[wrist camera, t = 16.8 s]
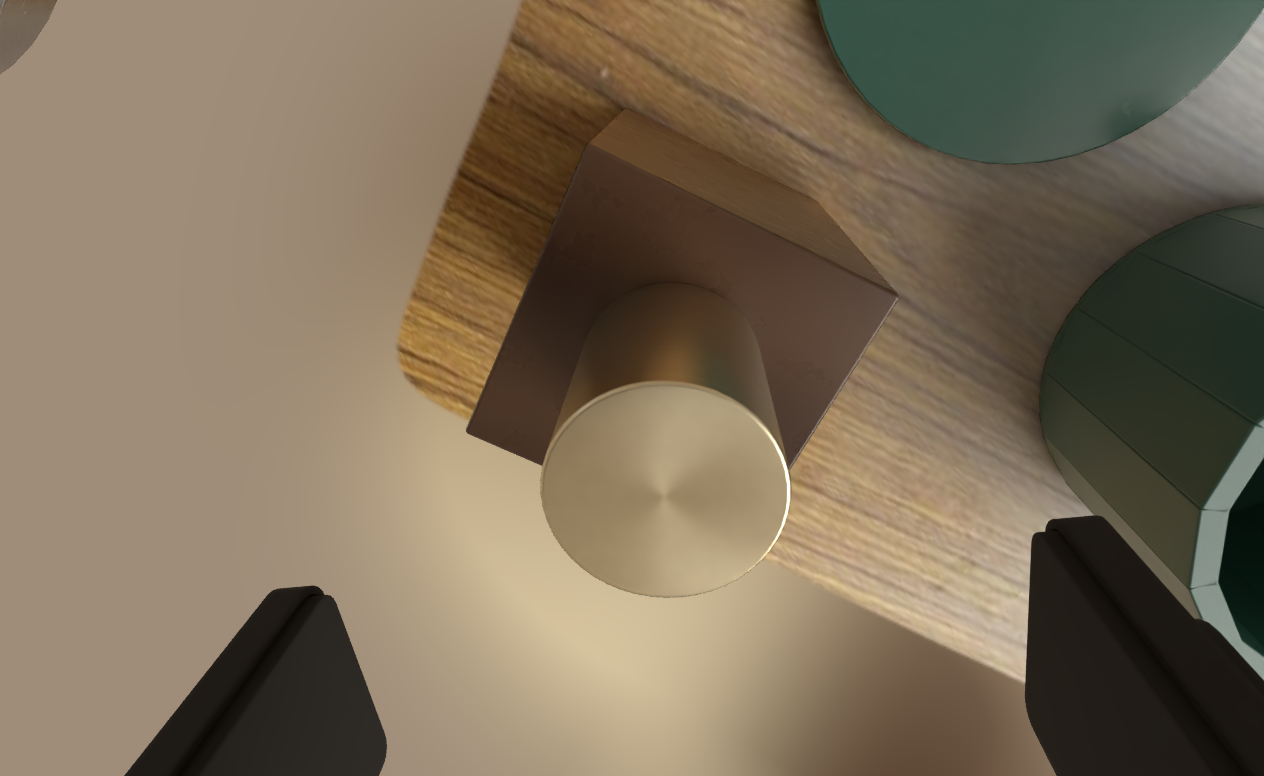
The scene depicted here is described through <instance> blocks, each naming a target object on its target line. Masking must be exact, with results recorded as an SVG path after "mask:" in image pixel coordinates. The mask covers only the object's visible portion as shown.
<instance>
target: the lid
mask: <svg viewBox="0 0 1264 776" xmlns="http://www.w3.org/2000/svg"><path fill="white" fill-rule="evenodd" d="M815 2H816V6H817V10H818V14H819V18H820V22H821V26H822V29H823V31H824V34H825V36H826V39H827V41H828V44H829V46H830V49H831V51H832V54H833V56H834V57H835V59H836V61H837V63H838V64H839V66H840V68H841V70H842V71H843V73H844V75H845V77H846V79H847V80H848V81H849V83H850V84H851V85H852V86H853V88H854V89H855V90H856V92H857V93H858V94H859V96H860V97H861V98H862V99H863V101H864V102H865V103H866V104H867V105H868V106H869V107H870V108H871V109H872V110H873V111H875V112H876V113H877V114H878V115H879V116H880V117H881V118H882V119H883V120H884V121H885V122H887V123H888V124H890V125H891V126H892V127H894V128H895V129H897V130H898V131H899V132H901V133H902V134H904V135H905V136H907V137H909V138H911V139H913V140H915V141H917V142H919V143H920V144H922V145H924V146H926V147H928V148H931V149H933V150H936V151H939V152H942V153H945V154H948V155H951V156H954V157H957V158H960V159H966V160H971V161H977V162H982V163H990V164H1012V165H1016V164H1028V163H1040V162H1047V161H1052V160H1057V159H1061V158H1066V157H1071V156H1075V155H1078V154H1081V153H1084V152H1087V151H1090V150H1093V149H1096V148H1098V147H1101V146H1104V145H1106V144H1108V143H1110V142H1113V141H1115V140H1117V139H1119V138H1121V137H1123V136H1125V135H1128V134H1130V133H1132V132H1134V131H1135V130H1137V129H1139V128H1140V127H1142V126H1144V125H1145V124H1147V123H1149V122H1150V121H1152V120H1153V119H1155V118H1157V117H1158V116H1160V115H1162V114H1163V113H1164V112H1166V111H1167V110H1168V109H1170V108H1171V107H1172V106H1174V105H1175V104H1176V103H1177V102H1179V101H1180V100H1181V99H1183V98H1184V97H1185V96H1187V95H1188V94H1189V93H1190V92H1192V91H1193V90H1194V89H1195V88H1196V87H1197V86H1198V85H1199V84H1200V83H1201V82H1202V81H1203V80H1204V79H1206V78H1207V77H1208V76H1209V75H1210V74H1211V73H1212V72H1213V71H1214V70H1215V69H1216V68H1217V67H1218V66H1219V65H1220V64H1221V62H1222V61H1223V60H1224V59H1225V58H1226V57H1227V56H1228V55H1229V53H1230V52H1231V51H1232V50H1233V49H1234V48H1235V47H1236V45H1237V44H1238V43H1239V42H1240V41H1241V39H1242V38H1243V37H1244V35H1245V34H1246V32H1247V31H1248V30H1249V28H1250V27H1251V26H1252V24H1253V23H1254V21H1255V20H1256V19H1257V17H1258V16H1259V14H1260V13H1261V12H1262V10H1263V8H1264V0H815Z"/></svg>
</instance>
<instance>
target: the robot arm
mask: <svg viewBox="0 0 1264 776" xmlns="http://www.w3.org/2000/svg"><path fill="white" fill-rule="evenodd" d="M1025 702H1026V708H1027V713H1028V717H1029V720H1030V723H1031V725H1032V727H1033V730H1034V732H1035V734H1036V736H1037V738H1038V739H1039V742H1040V744H1041V746H1042V747H1043V749H1044V751H1045V753H1046V756H1047V758H1048V760H1049V761H1050V763H1051V765H1052V767H1053V769H1054V771H1055V773H1056V775H1057V776H1264V680H1263V679H1262V678H1261V677H1260V676H1259V674H1258V673H1257V672H1256V671H1255V670H1254V669H1253V668H1252V667H1251V666H1250V665H1249V663H1248V662H1247V661H1246V660H1245V659H1244V658H1243V657H1242V656H1241V655H1240V654H1239V652H1238V651H1237V650H1236V649H1235V648H1234V647H1233V646H1232V645H1231V644H1230V643H1229V641H1228V640H1227V639H1226V638H1225V637H1224V636H1223V635H1222V634H1221V633H1220V632H1219V631H1218V630H1217V629H1216V628H1215V627H1213V626H1212V625H1211V624H1210V623H1209V622H1206V621H1204V620H1201V619H1194V618H1193V617H1192V615H1191V614H1190V613H1189V612H1188V611H1187V610H1186V609H1185V608H1184V606H1183V605H1182V604H1181V603H1180V602H1179V601H1178V600H1177V599H1176V597H1175V596H1174V595H1173V594H1172V593H1171V592H1170V591H1169V590H1168V588H1167V587H1166V586H1165V585H1164V584H1163V583H1162V582H1161V581H1160V579H1159V578H1158V577H1157V576H1156V575H1155V574H1154V573H1153V572H1152V570H1151V569H1150V568H1149V567H1148V566H1147V565H1146V564H1145V562H1144V561H1143V560H1142V559H1141V558H1140V557H1139V556H1138V555H1137V553H1136V552H1135V551H1134V550H1133V549H1132V548H1131V547H1130V546H1129V544H1128V543H1127V542H1126V541H1125V540H1124V539H1123V538H1122V537H1121V535H1120V534H1119V533H1118V532H1117V531H1116V530H1115V529H1114V528H1113V526H1112V525H1111V524H1110V523H1109V522H1108V521H1107V520H1106V519H1105V518H1104V517H1102V516H1098V515H1095V516H1083V517H1072V518H1061V519H1052V520H1050V521H1048V524H1047V526H1046V530H1045V532H1037V533H1035V534H1034V535H1033V537H1032V544H1031V566H1030V590H1029V613H1028V636H1027V659H1026V682H1025ZM386 750H387V744H386V737H385V733H384V730H383V728H382V725H381V722H380V720H379V717H378V714H377V712H376V709H375V706H374V704H373V701H372V698H371V695H370V693H369V690H368V687H367V685H366V682H365V680H364V677H363V674H362V671H361V669H360V666H359V663H358V660H357V658H356V655H355V653H354V650H353V647H352V645H351V642H350V639H349V636H348V634H347V631H346V628H345V626H344V623H343V620H342V618H341V615H340V612H339V610H338V607H337V604H336V602H335V600H334V598H332V597H331V596H329V595H324V593H323V591H322V590H321V589H320V588H319V587H316V586H303V587H292V588H280V589H276V590H273V591H272V592H270V593H269V594H268V595H267V596H266V598H265V599H264V600H263V601H262V603H261V604H260V605H259V607H258V608H257V609H256V610H255V612H254V613H253V614H252V615H251V617H250V618H249V619H248V620H247V622H246V623H245V624H244V626H243V627H242V628H241V629H240V630H239V632H238V633H237V634H236V635H235V637H234V638H233V639H232V641H231V642H230V643H229V644H228V646H227V647H226V648H225V649H224V651H223V652H222V653H221V654H220V656H219V657H218V658H217V659H216V661H215V662H214V663H213V665H212V666H211V667H210V668H209V670H208V671H207V672H206V673H205V675H204V676H203V677H202V678H201V680H200V681H199V682H198V684H197V685H196V686H195V687H194V688H193V690H192V691H191V692H190V694H189V695H188V696H187V697H186V699H185V700H184V701H183V702H182V704H181V705H180V706H179V708H178V709H177V710H176V711H175V713H174V714H173V715H172V716H171V717H170V719H169V720H168V721H167V723H166V724H165V725H164V726H163V728H162V729H161V730H160V731H159V733H158V734H157V735H156V736H155V738H154V739H153V740H152V742H151V743H150V744H149V745H148V747H147V748H146V749H145V750H144V752H143V753H142V754H141V755H140V757H139V758H138V759H137V760H136V762H135V763H134V764H133V765H132V767H131V768H130V770H128V772H127V773H126V774H125V776H379V774H380V772H381V769H382V767H383V764H384V762H385V758H386Z"/></svg>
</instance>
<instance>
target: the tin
mask: <svg viewBox="0 0 1264 776" xmlns="http://www.w3.org/2000/svg"><path fill="white" fill-rule="evenodd" d="M540 481H541V499H542V506H543V510H544V513H545V516H546V519H547V522H548V524H549V526H550V528H551V530H552V533H553V535H554V536H555V538H556V539H557V541H558V542H559V544H560V546H561V547H562V548H563V549H564V551H565V552H566V553H567V554H568V555H569V556H570V557H571V558H572V560H574V561H575V562H576V563H577V564H578V565H579V566H580V567H581V568H583V569H584V570H585V571H587V572H588V573H590V574H591V575H593V576H594V577H596V578H597V579H599V580H601V581H603V582H605V583H606V584H609V585H611V586H613V587H616V588H618V589H621V590H624V591H627V592H631V593H635V594H639V595H645V596H650V597H664V598H668V597H669V598H670V597H685V596H691V595H698V594H702V593H705V592H709V591H713V590H715V589H718V588H721V587H723V586H725V585H728V584H729V583H731V582H733V581H735V580H737V579H739V578H740V577H742V576H743V575H745V574H746V573H748V572H749V571H751V569H753V568H754V567H755V566H756V565H757V564H758V563H760V562H761V561H762V560H763V558H764V557H765V556H766V555H767V554H768V553H769V551H770V550H771V549H772V547H773V546H774V544H775V543H776V541H777V540H778V538H779V536H780V534H781V532H782V530H783V528H784V526H785V523H786V520H787V517H788V513H789V509H790V502H791V478H790V472H789V467H788V463H787V459H786V455H785V450H784V446H783V442H782V438H781V434H780V430H779V426H778V422H777V418H776V414H775V410H774V406H773V402H772V398H771V394H770V390H769V386H768V382H767V377H766V373H765V369H764V365H763V361H762V357H761V353H760V349H759V346H758V343H757V340H756V337H755V335H754V333H753V331H752V329H751V327H750V325H749V324H748V322H747V321H746V319H745V318H744V317H743V316H742V314H741V313H740V312H739V311H738V310H737V309H736V308H735V307H734V306H733V305H731V304H730V303H729V302H728V301H726V300H725V299H723V298H722V297H720V296H719V295H717V294H715V293H713V292H711V291H709V290H706V289H704V288H700V287H697V286H694V285H689V284H683V283H658V284H653V285H648V286H644V287H641V288H638V289H635V290H633V291H631V292H629V293H627V294H625V295H623V296H621V297H620V298H618V299H617V300H615V301H614V302H613V303H611V304H610V305H609V306H608V307H607V308H606V309H605V310H604V311H603V312H602V313H601V314H600V315H599V317H598V318H597V319H596V321H595V322H594V324H593V325H592V327H591V329H590V331H589V333H588V335H587V337H586V340H585V343H584V346H583V348H582V351H581V354H580V357H579V360H578V363H577V366H576V369H575V372H574V374H573V377H572V380H571V383H570V386H569V389H568V392H567V395H566V397H565V400H564V403H563V406H562V409H561V412H560V415H559V418H558V420H557V423H556V426H555V429H554V432H553V435H552V438H551V441H550V443H549V446H548V449H547V452H546V455H545V459H544V462H543V465H542V472H541V479H540Z"/></svg>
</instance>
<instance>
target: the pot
mask: <svg viewBox="0 0 1264 776" xmlns="http://www.w3.org/2000/svg"><path fill="white" fill-rule="evenodd" d="M1040 420H1041V425H1042V430H1043V435H1044V439H1045V441H1046V444H1047V447H1048V450H1049V452H1050V455H1051V456H1052V458H1053V460H1054V462H1055V463H1056V465H1057V467H1058V469H1059V470H1060V471H1061V473H1062V475H1063V477H1064V479H1065V482H1066V484H1067V485H1068V486H1069V487H1070V488H1071V489H1072V490H1073V492H1074V493H1075V494H1076V495H1077V496H1078V497H1079V498H1080V499H1081V501H1082V502H1083V503H1084V504H1085V505H1086V506H1087V507H1088V509H1089V510H1090V511H1091V512H1092V513H1093V514H1094V515H1098V516H1102V517H1104V518H1105V519H1106V520H1107V521H1108V522H1109V523H1110V524H1111V525H1112V526H1113V528H1114V529H1115V530H1116V531H1117V532H1118V533H1119V534H1120V535H1121V537H1122V538H1123V539H1124V540H1125V541H1126V542H1127V543H1128V544H1129V546H1130V547H1131V548H1132V549H1133V550H1134V551H1135V552H1136V553H1137V555H1138V556H1139V557H1140V558H1141V559H1142V560H1143V561H1144V562H1145V564H1146V565H1147V566H1148V567H1149V568H1150V569H1151V570H1152V572H1153V573H1154V574H1155V575H1156V576H1157V577H1158V578H1159V579H1160V581H1161V582H1162V583H1163V584H1164V585H1165V586H1166V587H1167V588H1168V590H1169V591H1170V592H1171V593H1172V594H1173V595H1174V596H1175V597H1176V599H1177V600H1178V601H1179V602H1180V603H1181V604H1182V605H1183V606H1184V608H1185V609H1186V610H1187V611H1188V612H1189V613H1190V614H1191V615H1192V617H1193V618H1194V619H1201V620H1204V621H1206V622H1209V623H1210V624H1211V625H1212V626H1213V627H1215V628H1216V629H1217V630H1218V631H1219V632H1220V633H1221V634H1222V635H1223V636H1224V637H1225V638H1226V639H1227V640H1228V641H1229V643H1230V644H1231V645H1232V646H1233V647H1234V648H1235V649H1236V650H1237V651H1238V652H1239V654H1240V655H1241V656H1242V657H1243V658H1244V659H1245V660H1246V661H1247V662H1248V663H1249V665H1250V666H1251V667H1252V668H1253V669H1254V670H1255V671H1256V672H1257V673H1258V674H1259V676H1260V677H1261V678H1262V679H1263V680H1264V204H1255V205H1244V206H1239V207H1234V208H1229V209H1224V210H1219V211H1216V212H1213V213H1209V214H1206V215H1203V216H1200V217H1197V218H1193V219H1191V220H1188V221H1186V222H1184V223H1182V224H1179V225H1177V226H1175V227H1172V228H1170V229H1168V230H1166V231H1164V232H1162V233H1160V234H1159V235H1157V236H1155V237H1153V238H1152V239H1150V240H1148V241H1146V242H1144V243H1143V244H1141V245H1140V246H1138V247H1137V248H1136V249H1134V250H1133V251H1131V252H1130V253H1129V254H1127V255H1126V256H1124V257H1123V258H1121V259H1120V260H1119V261H1118V262H1117V263H1116V264H1114V265H1113V266H1112V267H1111V268H1110V269H1109V270H1108V271H1106V272H1105V273H1104V274H1103V275H1102V276H1101V277H1100V278H1099V279H1098V280H1097V281H1096V282H1095V283H1094V284H1093V285H1092V286H1091V287H1090V289H1089V290H1088V291H1087V292H1086V293H1085V294H1084V295H1083V296H1082V298H1081V299H1080V300H1079V302H1078V303H1077V304H1076V306H1075V307H1074V308H1073V310H1072V311H1071V313H1070V314H1069V315H1068V317H1067V319H1066V320H1065V322H1064V324H1063V326H1062V327H1061V329H1060V331H1059V333H1058V334H1057V336H1056V338H1055V341H1054V343H1053V346H1052V348H1051V350H1050V353H1049V355H1048V358H1047V362H1046V365H1045V369H1044V373H1043V376H1042V383H1041V391H1040Z"/></svg>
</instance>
